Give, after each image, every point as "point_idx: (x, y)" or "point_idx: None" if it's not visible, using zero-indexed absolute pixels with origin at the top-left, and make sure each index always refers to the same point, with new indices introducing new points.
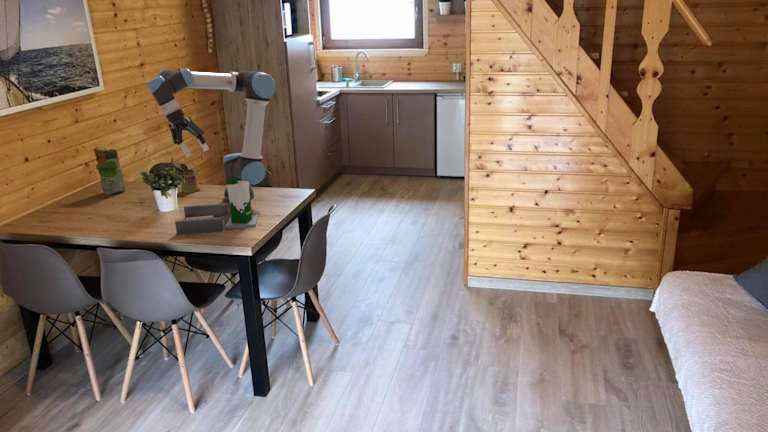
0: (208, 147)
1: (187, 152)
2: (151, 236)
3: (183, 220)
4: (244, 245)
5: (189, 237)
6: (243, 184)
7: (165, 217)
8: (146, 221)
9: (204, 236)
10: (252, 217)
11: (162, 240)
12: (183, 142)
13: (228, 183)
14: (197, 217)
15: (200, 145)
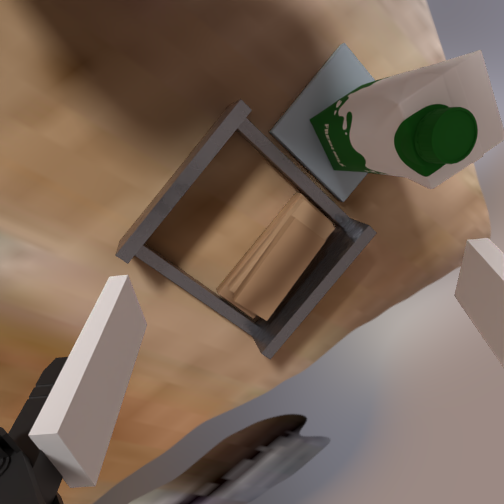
0: (498, 248)
1: (127, 333)
2: (205, 395)
3: (281, 333)
4: None
5: (308, 319)
6: (496, 116)
7: (36, 291)
8: (27, 361)
9: (338, 284)
10: (349, 78)
11: (264, 383)
12: (65, 440)
13: (421, 160)
14: (266, 269)
15: (499, 358)
